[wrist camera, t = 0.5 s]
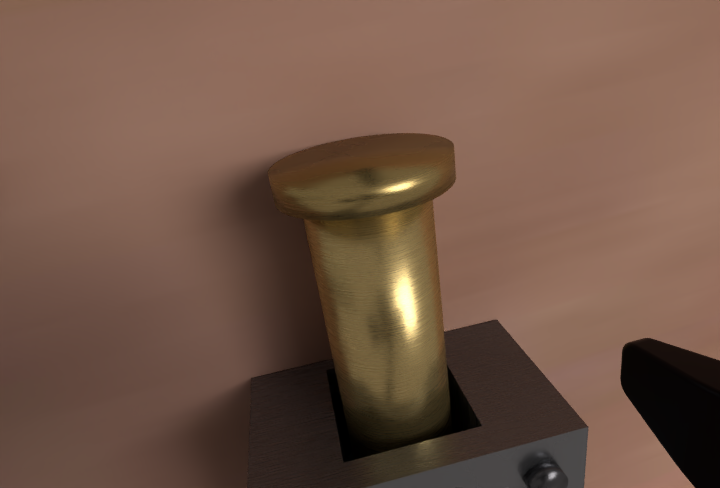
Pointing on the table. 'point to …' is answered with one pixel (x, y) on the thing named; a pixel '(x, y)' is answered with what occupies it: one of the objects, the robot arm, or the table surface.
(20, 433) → the table surface
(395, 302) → the brass cylinder
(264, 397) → the housing
